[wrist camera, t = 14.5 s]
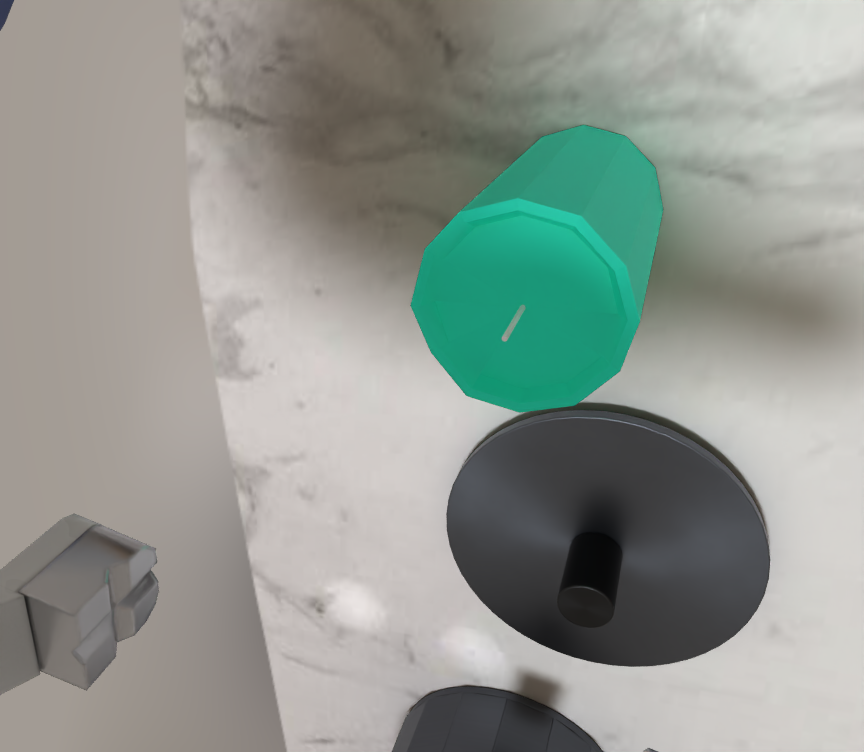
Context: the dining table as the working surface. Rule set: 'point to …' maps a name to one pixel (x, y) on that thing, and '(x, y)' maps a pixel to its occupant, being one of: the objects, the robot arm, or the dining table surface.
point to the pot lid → (608, 538)
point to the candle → (544, 273)
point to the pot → (487, 725)
